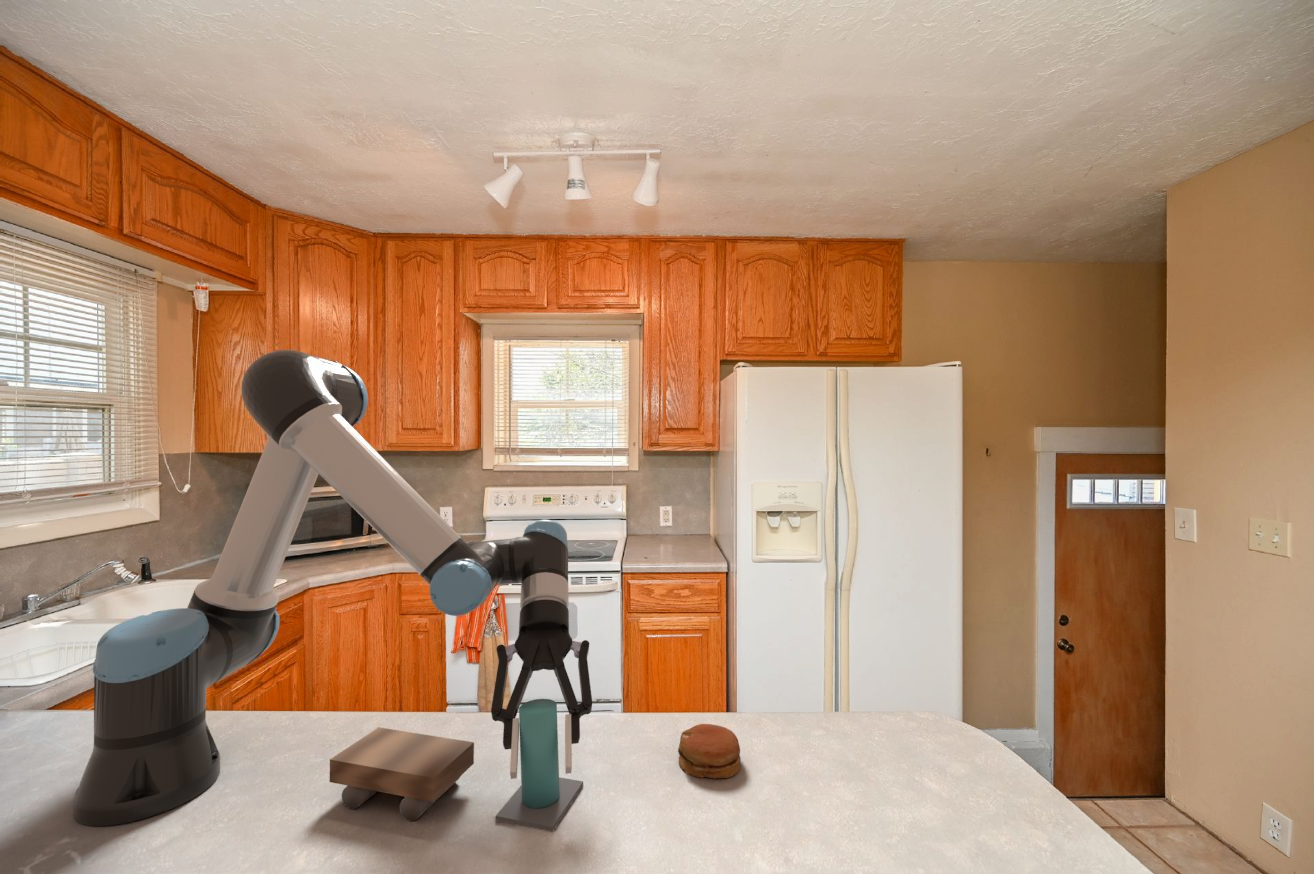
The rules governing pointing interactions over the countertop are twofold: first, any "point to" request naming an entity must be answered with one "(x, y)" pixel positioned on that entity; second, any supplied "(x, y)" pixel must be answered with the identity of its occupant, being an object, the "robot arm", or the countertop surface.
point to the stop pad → (542, 816)
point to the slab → (400, 768)
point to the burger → (709, 751)
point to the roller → (539, 753)
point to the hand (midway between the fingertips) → (541, 772)
